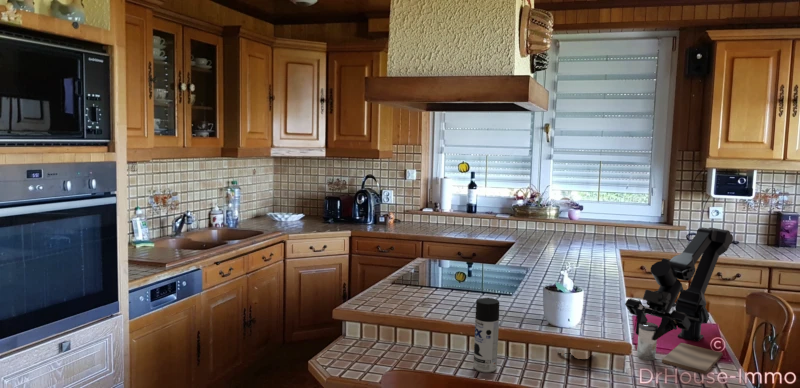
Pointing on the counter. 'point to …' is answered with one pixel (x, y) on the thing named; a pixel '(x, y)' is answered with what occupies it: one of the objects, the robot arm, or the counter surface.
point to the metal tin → (646, 341)
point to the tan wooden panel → (692, 358)
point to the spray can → (486, 335)
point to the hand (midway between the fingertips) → (645, 336)
